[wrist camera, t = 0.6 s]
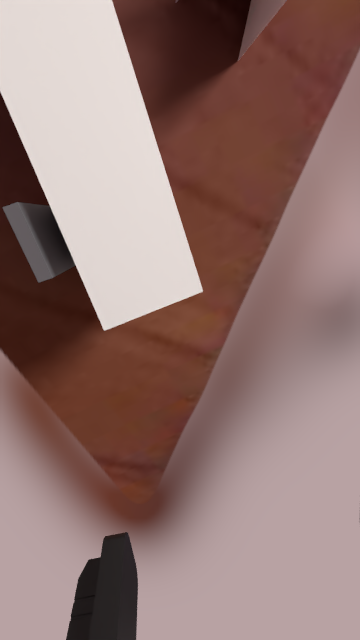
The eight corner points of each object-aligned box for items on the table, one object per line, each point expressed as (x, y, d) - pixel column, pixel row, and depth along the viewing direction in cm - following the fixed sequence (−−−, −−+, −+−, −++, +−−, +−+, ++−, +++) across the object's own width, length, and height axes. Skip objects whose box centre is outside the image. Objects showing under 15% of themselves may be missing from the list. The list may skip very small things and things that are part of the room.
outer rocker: (42, 211, 21) (-2, 208, 16) (56, 206, 21) (17, 201, 16) (67, 267, 23) (34, 284, 17) (80, 263, 23) (52, 278, 17)
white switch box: (-14, 38, 24) (-142, -213, 11) (66, 20, 25) (40, -228, 12) (95, 294, 30) (98, 333, 17) (156, 271, 31) (203, 291, 18)
